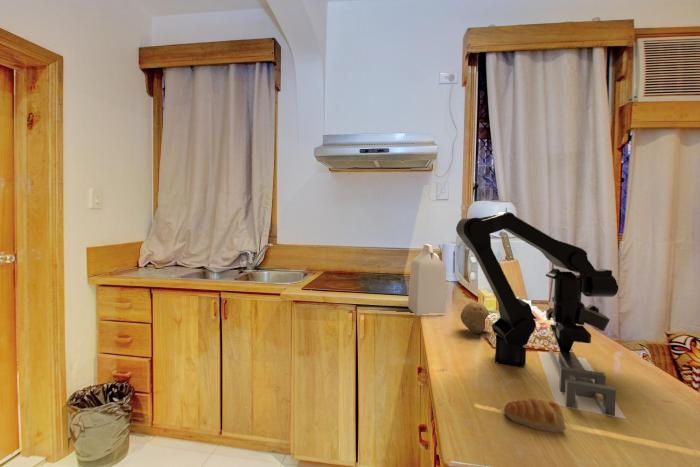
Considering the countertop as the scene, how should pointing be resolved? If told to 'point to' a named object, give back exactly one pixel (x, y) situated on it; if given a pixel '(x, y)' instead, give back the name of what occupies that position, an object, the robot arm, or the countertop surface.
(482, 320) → the brown coconut
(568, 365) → the long grey bar
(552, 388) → the base with arch frames
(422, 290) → the milk
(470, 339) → the countertop surface
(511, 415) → the pastry
